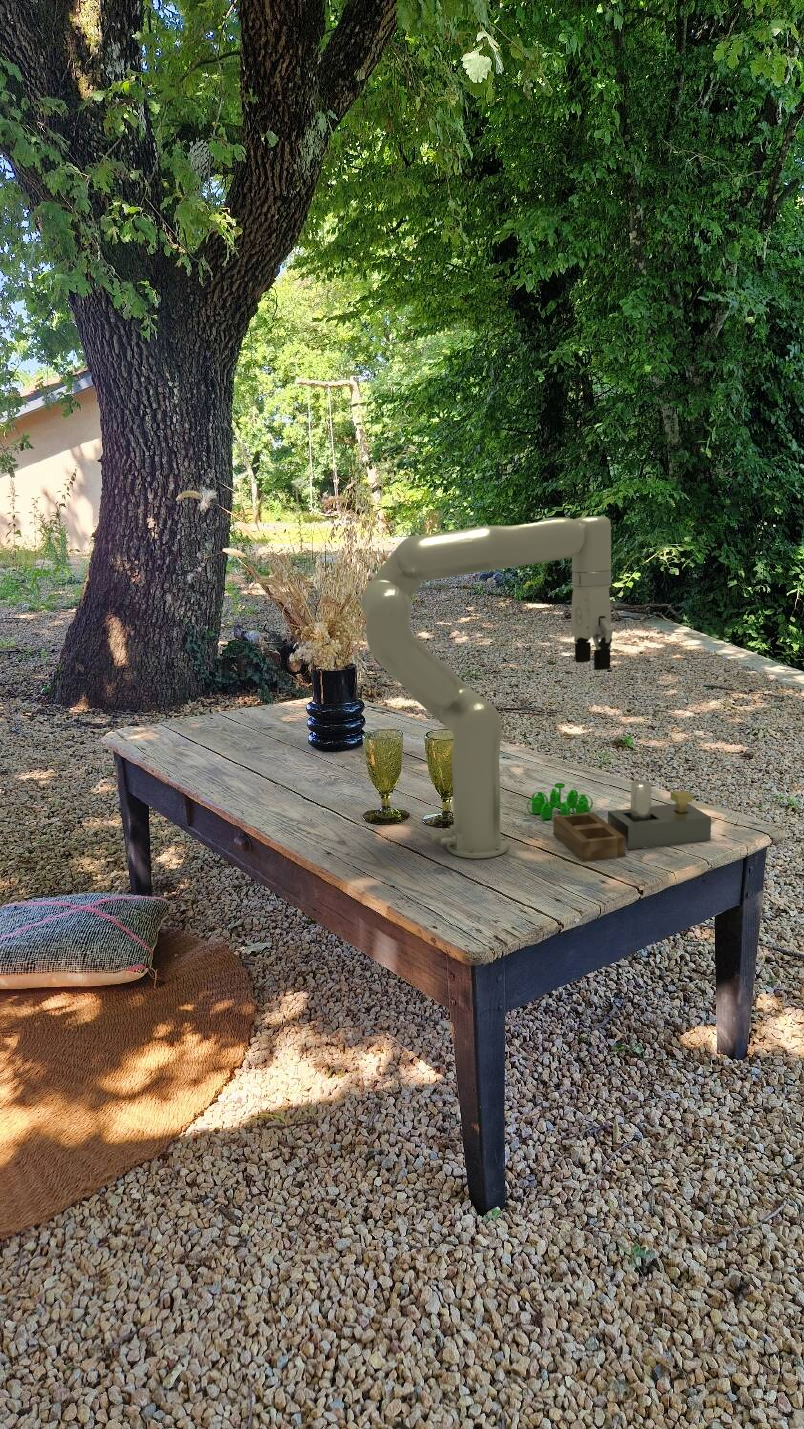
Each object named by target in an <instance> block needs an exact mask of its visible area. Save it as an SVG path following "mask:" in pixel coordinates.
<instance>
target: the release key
mask: <svg viewBox="0 0 804 1429" xmlns="http://www.w3.org/2000/svg"><path fill="white" fill-rule="evenodd" d="M670 800H672V801H674V802H675V804H676V813H678V814H685V813H687V803H693V794H692V793H690V792H688V791H686V790H677V791H675V790H674V791H670Z"/></svg>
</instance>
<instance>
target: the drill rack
mask: <svg viewBox="0 0 804 1429" xmlns="http://www.w3.org/2000/svg"><path fill="white" fill-rule="evenodd" d="M552 818H553V819H552V820H553V821H552V824H553V825H552V828H553V829H552V830H553V832H552V833H553V836H555V838H557V839H558V840H559V841H560V842H561V843H562V844H563V845H564V846H565V847H566V849H569V851H570V852H572V853H573V854H574V856H576V858H578V860H580V861H581V862H583V863H584V862H589V861H590V862H591V861H599V860H607V859H613V858H614V859H615V857H617V858H623V857H622V856H625V857H626V848H625V839H626V837H624V836H623V835H622V834H621V833H619V832H618V831H617V830H615V829H614V828H613V827H612V826H610V825H609V824H608V822H606V820H604V819H603V818H602V817H600V816H599V815H598V814H596V812H594V811H591V812H589V813H588V812H586V813H581V814H574V813H572V814H570V815H562V816H561V815H557V816H555V815H552Z"/></svg>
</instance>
